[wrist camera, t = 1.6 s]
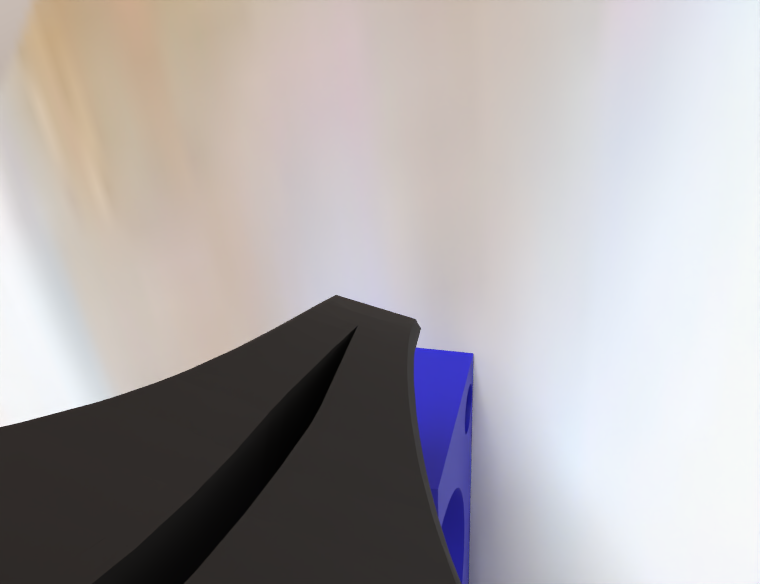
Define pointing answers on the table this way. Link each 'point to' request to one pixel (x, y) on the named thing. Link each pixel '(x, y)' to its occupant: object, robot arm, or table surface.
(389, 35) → the table surface
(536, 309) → the table surface
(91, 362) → the table surface
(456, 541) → the cable clip
